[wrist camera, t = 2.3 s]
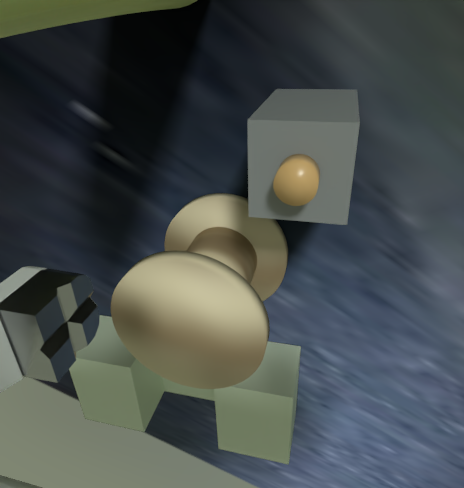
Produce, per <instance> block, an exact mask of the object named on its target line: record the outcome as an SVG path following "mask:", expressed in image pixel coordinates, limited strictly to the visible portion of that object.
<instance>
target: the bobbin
mask: <svg viewBox="0 0 464 488" xmlns="http://www.w3.org/2000/svg"><path fill="white" fill-rule="evenodd" d="M287 262H288V246H287V241H286V238H285V235H284V233H283V231H282V229H281V227H280V225H279V224H278V223H277V221H276V220H275V219H269V218H257V217H249V208H248V199H247V198H244V197H242V196H238V195H234V194H227V193H214V194H208V195H204V196H201V197H198V198H196V199H194V200H192V201H191V202H189V203H188V204H186V205H185V206H184V207H183V208H182V209H181V210H180V211H179V213H178V214H177V215H176V216H175V217H174V218H173V220H172V221H171V223H170V225H169V227H168V229H167V232H166V236H165V251H164V252H159V253H155V254H152V255H150V256H147V257H145V258H143V259H142V260H140V261H139V262H137V263H136V264H135V265H134V266H133V267H132V268H131V269H130V270H129V271H128V272H127V274H126V275H125V276H124V277H123V278H122V279H121V281H120V282H119V283H118V285H117V286H116V288H115V290H114V293H113V296H112V301H111V315H112V321H113V324H114V327H115V330H116V332H117V334H118V336H119V338H120V339H121V341H122V343H123V344H124V345H125V347H126V348H127V349H128V351H129V352H130V353H131V354H132V355H133V356H134V357H135V358H136V359H137V360H138V361H139V362H140V363H142V364H143V365H144V366H145V367H147V368H148V369H150V370H151V371H153V372H154V373H156V374H158V375H159V376H161V377H163V378H165V379H167V380H170V381H172V382H175V383H178V384H181V385H184V386H188V387H193V388H200V389H220V388H226V387H230V386H233V385H236V384H238V383H240V382H243V381H244V380H246V379H247V378H249V377H250V376H251V375H252V374H253V373H254V372H255V371H256V370H257V369H258V367H259V366H260V364H261V362H262V360H263V357H264V354H265V350H266V346H267V342H268V338H269V330H270V329H269V319H268V314H267V311H266V309H265V306H264V304H263V302H262V301H264V300H265V299H267V298H268V297H270V296H271V295H272V294H273V293H274V292H275V291H276V290H277V288H278V287H279V286H280V284H281V282H282V280H283V278H284V274H285V271H286V267H287Z"/></svg>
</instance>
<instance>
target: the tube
mask: <svg viewBox="0 0 464 488" xmlns="http://www.w3.org/2000/svg"><path fill="white" fill-rule="evenodd" d="M196 1H197V0H0V38H3V37H7V36H11V35H16V34H21V33H25V32H30V31H35V30H40V29H45V28H50V27H54V26H60V25H65V24H70V23H76V22H81V21H87V20H93V19H99V18H105V17H111V16H117V15H124V14H131V13H138V12H146V11H155V10H164V9H174V8H181V7H184V6H188V5H190V4H192V3H194V2H196Z"/></svg>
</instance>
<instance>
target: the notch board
mask: <svg viewBox="0 0 464 488" xmlns="http://www.w3.org/2000/svg"><path fill="white" fill-rule="evenodd" d="M300 350H301V346H295V345H289V344H282V343H276V342H269V341H268V342H267V346H266V350H265V354H264V357H263V360H262V362H261V364H260V366H259V367H258V369H257V370H256V371H255V372H254V373H253V374H252V375H251V376H250V377H249V378H247V379H246V380H244V381H243V382H240V383H238V384H236V385H233V386H230V387H226V388H220V389H200V388H193V387H188V386H184V385H181V384H178V383H175V382H172V381H170V380H167V379H165V378H163V377H161V376H159V375H158V374H156V373H154V372H153V371H151V370H150V369H148V368H147V367H145V366H144V365H143V364H142V363H140V362H139V361H138V360H137V359H136V358H135V357H134V356H133V355H132V354H131V353H130V352H129V351H128V349H127V348H126V347H125V345H124V344H123V343H122V341H121V339H120V338H119V336H118V334H117V332H116V330H115V327H114V324H113V321H112V317H108V316H102V315H100V317H99V327H98V329H97V332H96V335H95V337H94V338H93V340H92V341H91V342H90V344H89V345H88V346H87V347H85V348H83V349H81V350H79V351H77V352H76V361H75V362H74V363H73V365H72V366H71V367H70V368H69V371H70V374H71V377H72V380H73V383H74V386H75V389H76V392H77V395H78V398H79V401H80V404H81V407H82V410H83V414H84V417H85V419H89V420H93V421H97V422H102V423H106V424H111V425H116V426H119V427H124V428H128V429H133V430H138V431H142V432H145V430H146V428H147V426H148V424H149V422H150V420H151V418H152V415H153V413H154V411H155V409H156V407H157V405H158V403H159V401H160V399H161V397H162V395H163V393H164V391H166V392H172V393H177V394H182V395H187V396H192V397H197V398H202V399H207V400H212V401H215V409H216V422H217V435H218V448H219V449H222V450H226V451H231V452H235V453H240V454H244V455H249V456H253V457H258V458H262V459H267V460H271V461H275V462H280V463H284V464H289V458H290V451H291V444H292V436H293V429H294V422H295V414H296V404H297V391H298V377H299V364H300Z"/></svg>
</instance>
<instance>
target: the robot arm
mask: <svg viewBox="0 0 464 488" xmlns="http://www.w3.org/2000/svg"><path fill="white" fill-rule="evenodd" d="M93 291H94V289H93V286H92V282H91V279H90V278H89V277H87V276H86V275H84V274H78V273H72V272H66V271H60V270H54V269H45V268H40V267H33V266H28V267H22V268H21V269H19V270H18V271H17V272H15V273H14V274H13V275H11V276H10V277H9V278H7V279H6V280H5V281H3V282H2V283H1V284H0V393H1V392H2V391H4V390H5V389H7V388H9V387H10V386H12V385H14V384H15V383H17V382H18V381H20V380H22V379H23V376H24V377H29V378H35V379H40V380H46V381H51V382H57V383H58V382H59V380H60V379H61V378H62V377H63V376H64V374H65V373H66V372H67V371H68V369H69V368H70V367H71V366H72V365H73V363H74V362H75V361H76V352H77V351H79V350H81V349H83V348H85V347H87V346H88V345H89V344H90V342H91V341H92V340H93V338H94V337H95V335H96V332H97V329H98V327H99V317H100V314H99V310H98V306H97V305H96V304H95V303H94V301H93V300H92V299H91V298H90V296H91V295H92V293H93ZM0 488H42V487H38V486H35V485H32V484H28V483H25V482H22V481H18V480H15V479H11V478H8V477H4V476H1V475H0Z"/></svg>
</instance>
